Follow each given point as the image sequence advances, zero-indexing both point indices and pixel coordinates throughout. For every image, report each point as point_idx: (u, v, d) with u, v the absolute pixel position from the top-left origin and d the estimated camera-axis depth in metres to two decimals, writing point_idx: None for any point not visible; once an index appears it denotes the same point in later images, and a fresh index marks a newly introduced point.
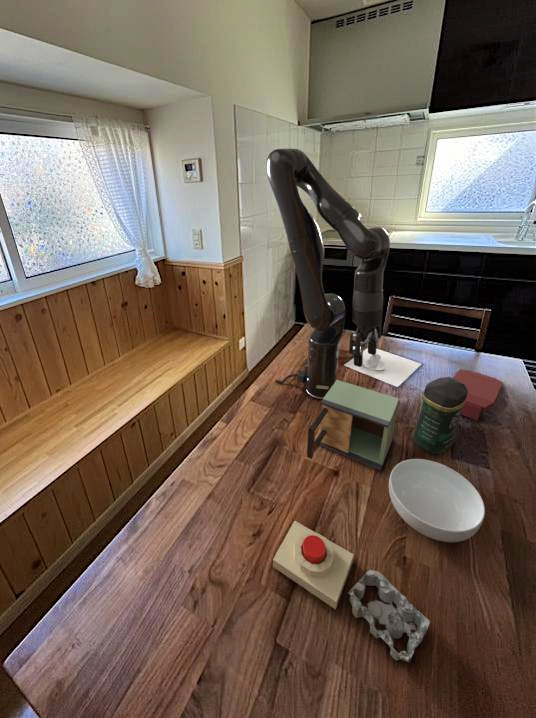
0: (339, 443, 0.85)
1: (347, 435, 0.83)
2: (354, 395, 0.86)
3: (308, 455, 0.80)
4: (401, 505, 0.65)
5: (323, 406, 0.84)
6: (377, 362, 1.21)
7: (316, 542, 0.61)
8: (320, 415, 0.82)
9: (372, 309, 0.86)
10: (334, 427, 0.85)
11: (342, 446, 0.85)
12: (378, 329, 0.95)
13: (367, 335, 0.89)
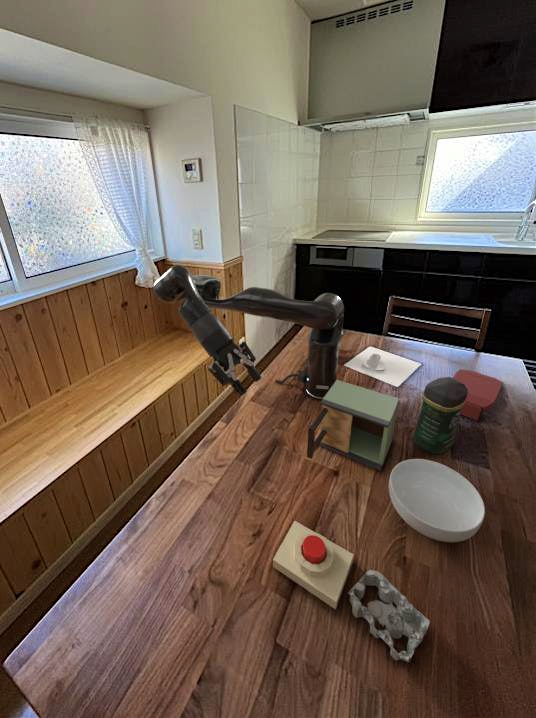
0: (339, 443, 0.85)
1: (347, 435, 0.83)
2: (354, 395, 0.86)
3: (308, 455, 0.80)
4: (401, 505, 0.65)
5: (323, 406, 0.84)
6: (377, 362, 1.21)
7: (316, 542, 0.61)
8: (320, 415, 0.82)
9: (209, 332, 0.82)
10: (334, 427, 0.85)
11: (342, 446, 0.85)
12: (247, 352, 0.88)
13: (227, 359, 0.82)
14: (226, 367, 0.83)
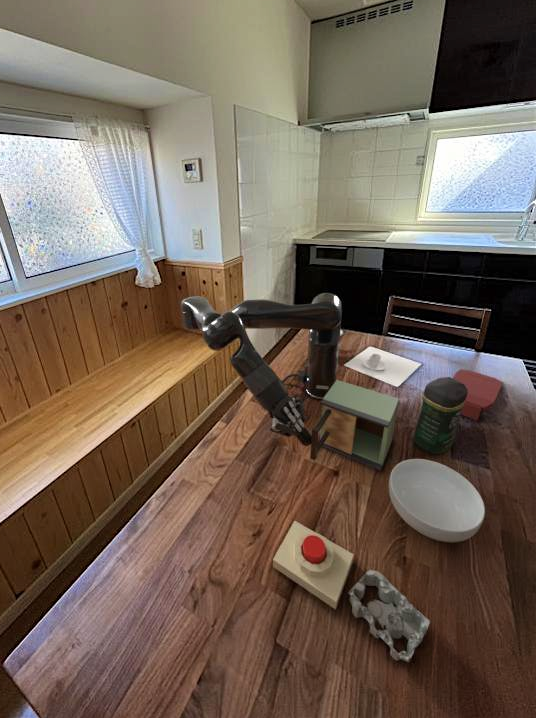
0: (342, 444, 0.85)
1: (350, 437, 0.83)
2: (354, 395, 0.86)
3: (311, 457, 0.80)
4: (401, 505, 0.65)
5: (326, 407, 0.84)
6: (377, 362, 1.21)
7: (316, 542, 0.61)
8: (324, 416, 0.81)
9: (264, 385, 0.77)
10: (337, 428, 0.84)
11: (345, 448, 0.85)
12: (299, 409, 0.82)
13: (285, 414, 0.78)
14: None
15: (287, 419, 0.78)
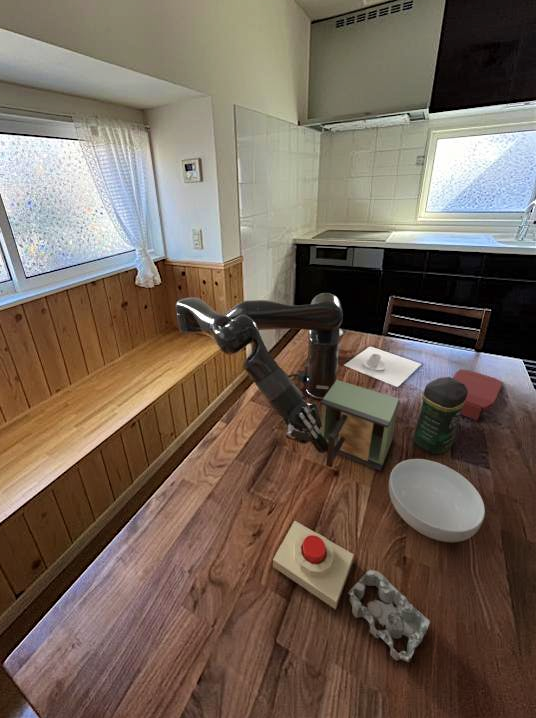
0: (358, 451, 0.83)
1: (367, 443, 0.81)
2: (354, 395, 0.86)
3: (328, 464, 0.78)
4: (401, 505, 0.65)
5: (342, 413, 0.82)
6: (377, 362, 1.21)
7: (316, 542, 0.61)
8: (340, 422, 0.79)
9: (279, 391, 0.75)
10: (353, 434, 0.82)
11: (361, 454, 0.83)
12: (314, 414, 0.80)
13: (301, 420, 0.76)
14: None
15: (303, 425, 0.76)
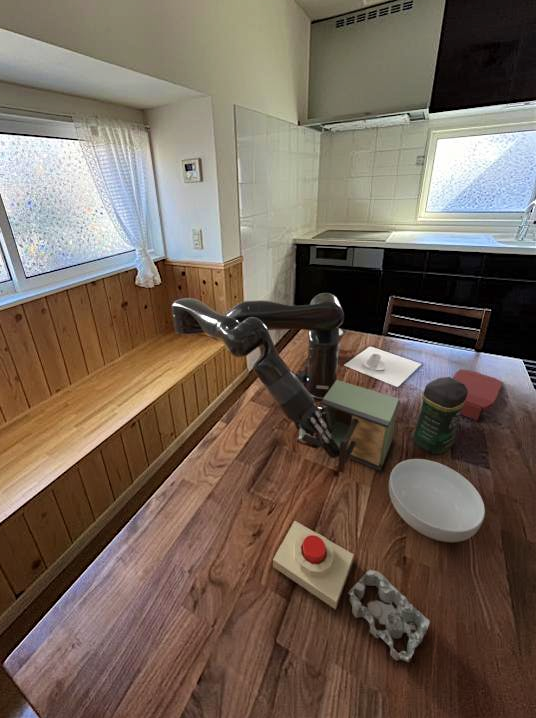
0: (370, 455, 0.81)
1: (378, 448, 0.79)
2: (354, 395, 0.86)
3: (339, 469, 0.76)
4: (401, 505, 0.65)
5: (353, 417, 0.80)
6: (377, 362, 1.21)
7: (316, 542, 0.61)
8: (351, 427, 0.77)
9: (290, 394, 0.74)
10: (365, 439, 0.80)
11: (372, 459, 0.81)
12: (325, 419, 0.79)
13: (312, 425, 0.74)
14: None
15: (314, 430, 0.74)
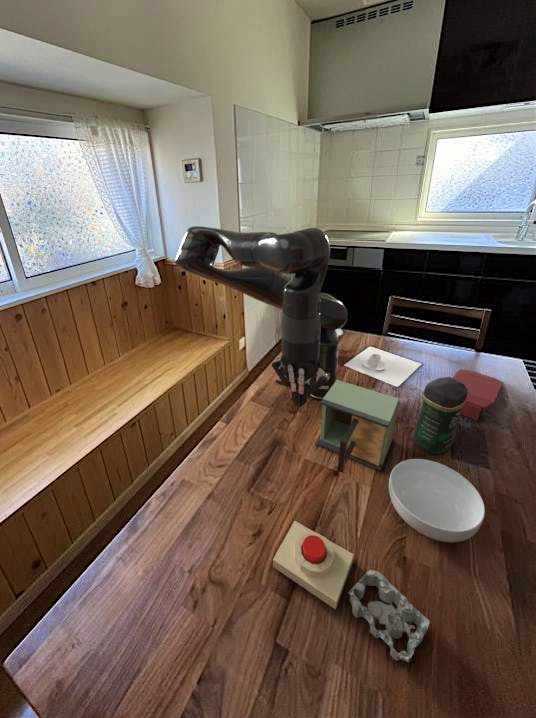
0: (369, 455, 0.81)
1: (378, 448, 0.79)
2: (354, 395, 0.86)
3: (339, 469, 0.76)
4: (401, 505, 0.65)
5: (353, 417, 0.80)
6: (377, 362, 1.21)
7: (316, 542, 0.61)
8: (351, 426, 0.77)
9: None
10: (365, 439, 0.81)
11: (372, 459, 0.81)
12: (286, 369, 0.73)
13: None
14: None
15: None
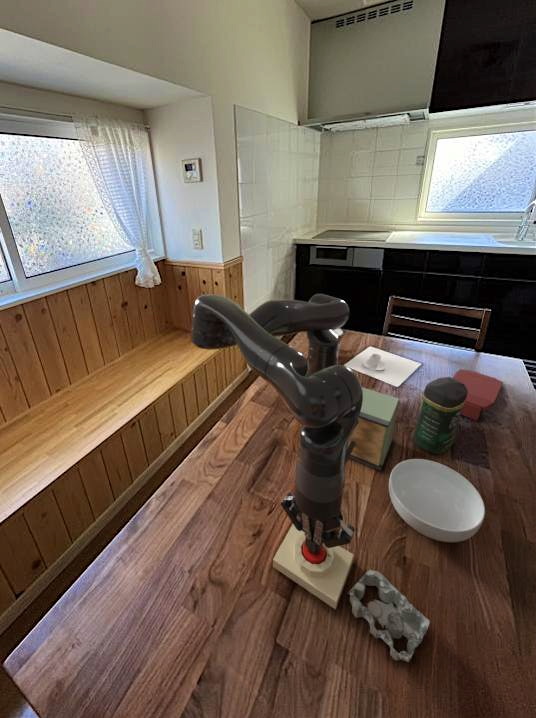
0: (369, 455, 0.81)
1: (378, 448, 0.79)
2: None
3: None
4: (401, 505, 0.65)
5: None
6: (377, 362, 1.21)
7: None
8: None
9: None
10: (365, 439, 0.81)
11: (372, 459, 0.81)
12: None
13: None
14: None
15: None
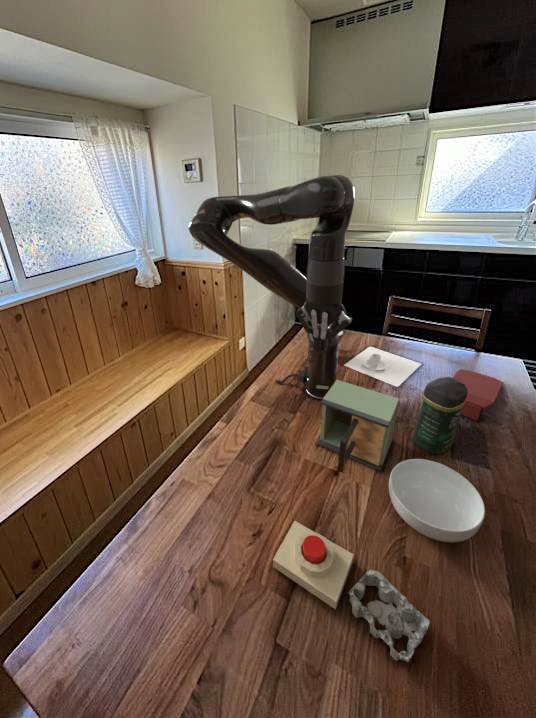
0: (369, 455, 0.81)
1: (378, 448, 0.79)
2: (354, 395, 0.86)
3: (339, 469, 0.76)
4: (401, 505, 0.65)
5: (353, 417, 0.80)
6: (377, 362, 1.21)
7: (316, 542, 0.61)
8: (351, 426, 0.77)
9: None
10: (365, 439, 0.81)
11: (372, 459, 0.81)
12: (308, 317, 0.77)
13: None
14: None
15: None
